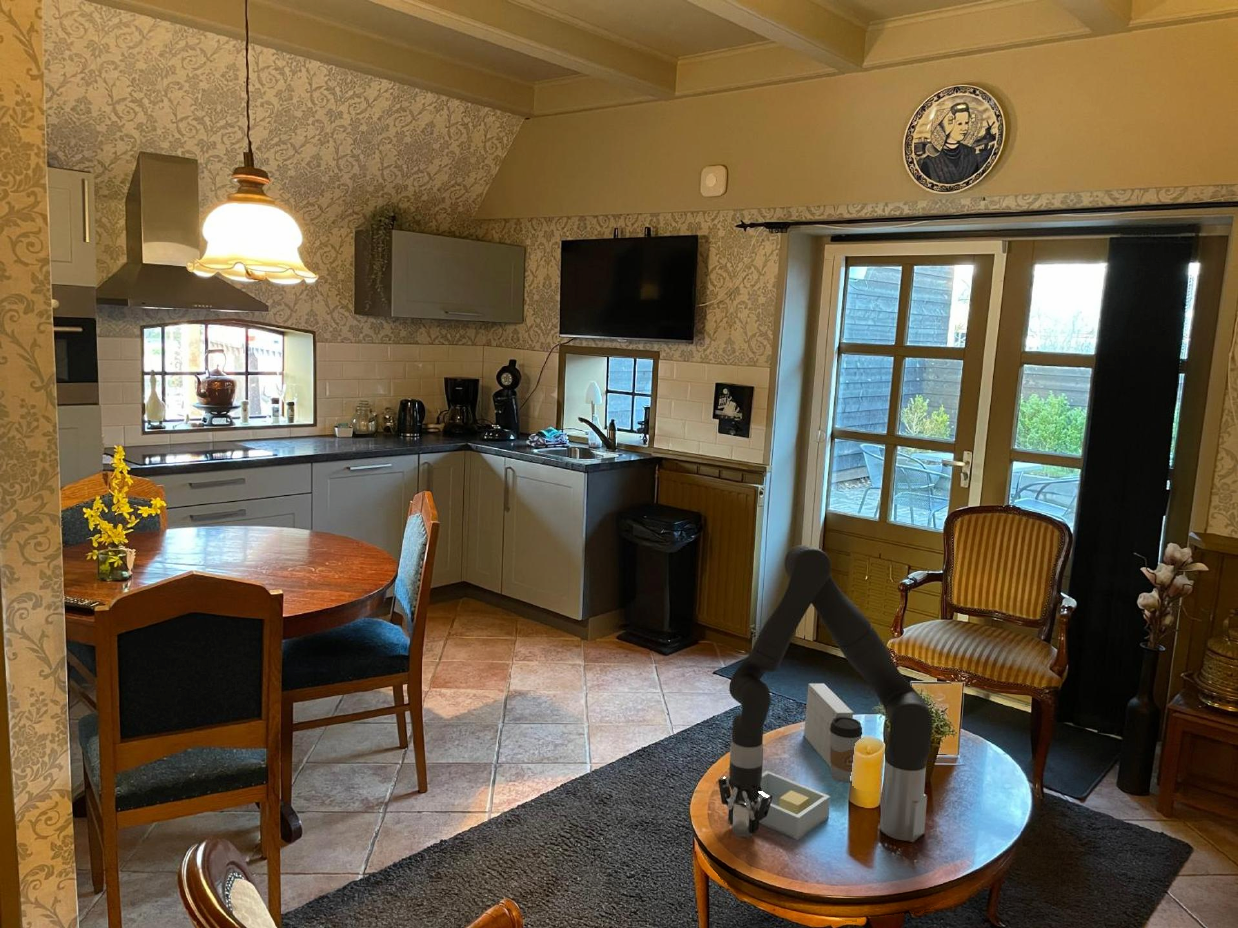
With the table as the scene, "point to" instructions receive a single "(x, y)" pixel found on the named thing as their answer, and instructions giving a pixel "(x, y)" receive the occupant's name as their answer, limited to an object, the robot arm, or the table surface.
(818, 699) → the skincare box
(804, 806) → the ochre cube
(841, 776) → the coffee cup
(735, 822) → the metal cylinder
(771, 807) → the tote
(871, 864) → the table surface
